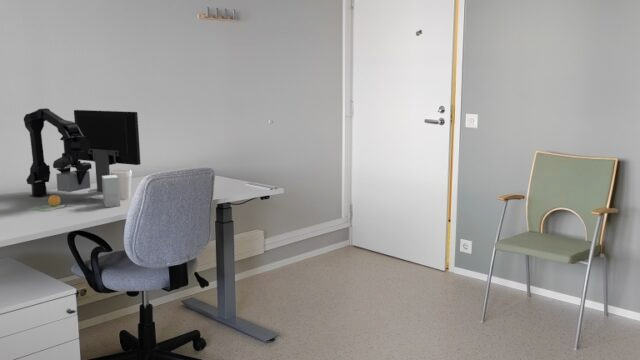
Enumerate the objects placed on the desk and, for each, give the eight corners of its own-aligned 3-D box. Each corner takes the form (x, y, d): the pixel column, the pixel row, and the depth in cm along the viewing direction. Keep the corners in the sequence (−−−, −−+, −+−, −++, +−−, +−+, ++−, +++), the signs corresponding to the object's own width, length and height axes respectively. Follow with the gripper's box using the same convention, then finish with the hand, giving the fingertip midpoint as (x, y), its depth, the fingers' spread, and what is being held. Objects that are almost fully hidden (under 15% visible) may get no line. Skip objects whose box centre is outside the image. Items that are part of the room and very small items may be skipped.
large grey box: (57, 190, 277) (56, 173, 276) (78, 186, 288) (77, 170, 287) (69, 192, 274) (68, 174, 272) (90, 187, 284) (89, 171, 283)
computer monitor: (145, 193, 297) (140, 111, 290) (133, 196, 290) (127, 112, 283) (86, 186, 316) (80, 109, 309) (73, 189, 309) (66, 110, 301)
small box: (120, 206, 271) (118, 177, 269) (105, 207, 268) (103, 178, 266) (118, 202, 278) (116, 174, 276) (103, 204, 275) (101, 175, 273)
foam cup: (126, 200, 282) (125, 173, 279) (108, 200, 284) (106, 172, 281) (136, 196, 291) (135, 169, 289) (119, 195, 293) (117, 169, 290)
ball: (52, 193, 273) (55, 203, 275) (44, 197, 269) (47, 207, 271) (61, 193, 271) (64, 203, 273) (53, 198, 267) (55, 208, 269)
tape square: (30, 209, 266) (30, 208, 266) (49, 204, 275) (49, 204, 275) (46, 211, 262) (46, 210, 262) (65, 206, 271) (65, 206, 271)
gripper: (41, 151, 274) (44, 185, 277) (71, 153, 266) (74, 188, 269) (61, 148, 284) (64, 181, 287) (91, 150, 276) (93, 184, 279)
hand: (73, 183), depth 280 cm, fingers closed on large grey box, 8 cm apart
